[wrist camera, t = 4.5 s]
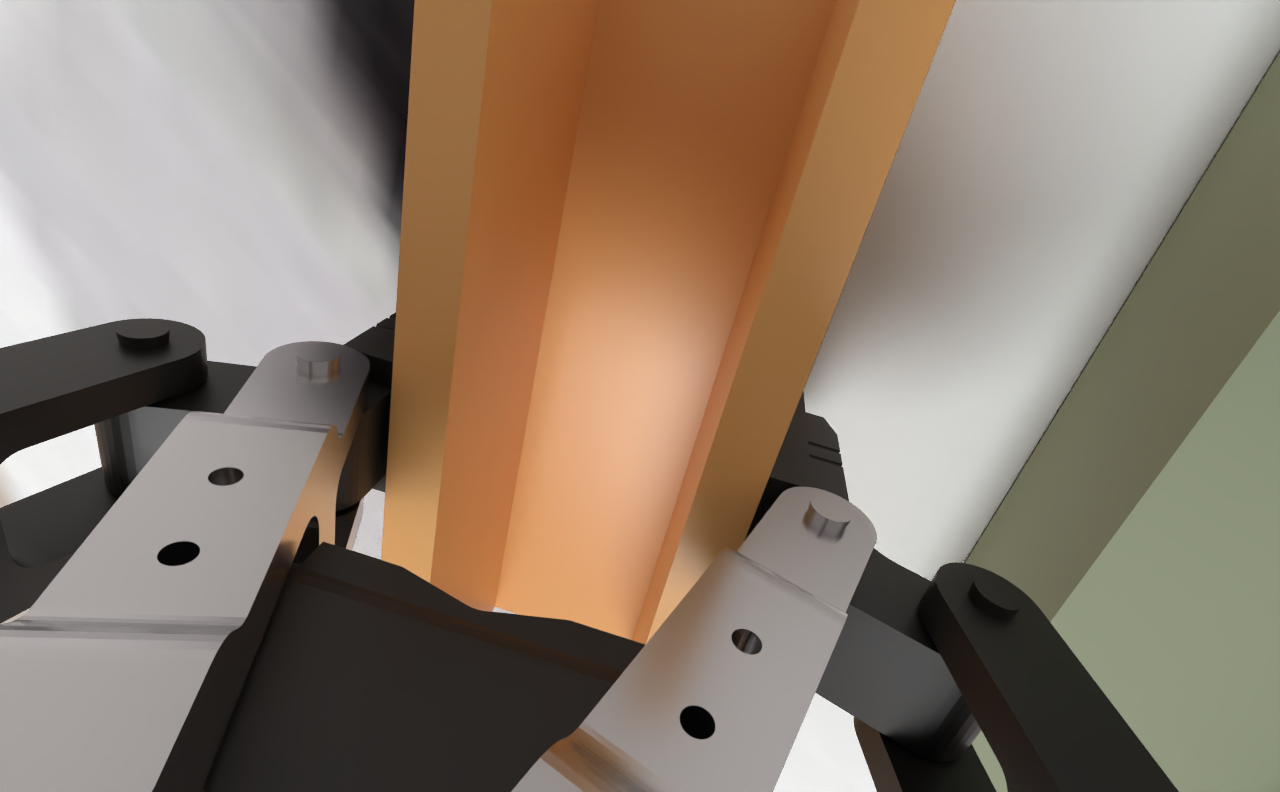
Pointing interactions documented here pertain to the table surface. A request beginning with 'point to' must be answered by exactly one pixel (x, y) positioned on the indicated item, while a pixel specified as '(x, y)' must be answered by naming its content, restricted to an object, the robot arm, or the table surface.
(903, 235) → the table surface
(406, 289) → the discharge chute
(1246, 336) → the marble run board
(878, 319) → the table surface
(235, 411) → the robot arm
